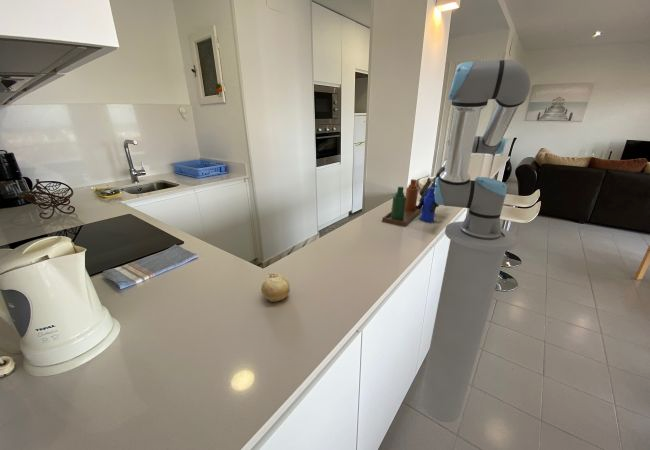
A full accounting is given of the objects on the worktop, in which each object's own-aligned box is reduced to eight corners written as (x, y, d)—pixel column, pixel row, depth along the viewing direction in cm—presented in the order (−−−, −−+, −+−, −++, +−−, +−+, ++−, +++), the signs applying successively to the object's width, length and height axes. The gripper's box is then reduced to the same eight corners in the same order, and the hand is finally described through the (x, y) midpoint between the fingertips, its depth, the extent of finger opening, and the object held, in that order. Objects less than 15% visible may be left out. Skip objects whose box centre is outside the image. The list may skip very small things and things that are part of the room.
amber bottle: (416, 209, 153) (420, 179, 147) (413, 211, 148) (417, 181, 142) (406, 207, 156) (409, 178, 150) (402, 209, 151) (406, 180, 145)
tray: (422, 210, 153) (423, 206, 152) (405, 226, 130) (405, 222, 129) (402, 206, 159) (402, 203, 158) (382, 221, 136) (382, 217, 135)
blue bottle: (434, 219, 139) (440, 187, 133) (431, 223, 134) (437, 190, 128) (422, 217, 142) (427, 185, 136) (419, 220, 137) (423, 188, 131)
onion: (294, 291, 81) (293, 270, 79) (283, 308, 74) (281, 285, 72) (269, 286, 83) (268, 266, 81) (256, 302, 76) (254, 280, 74)
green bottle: (404, 219, 137) (408, 186, 131) (400, 223, 132) (404, 189, 126) (393, 217, 140) (396, 185, 134) (389, 220, 136) (392, 187, 129)
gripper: (467, 179, 134) (445, 218, 130) (431, 173, 147) (410, 208, 143) (464, 169, 128) (442, 210, 124) (427, 164, 142) (405, 201, 138)
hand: (425, 209), depth 134 cm, fingers closed on blue bottle, 6 cm apart
